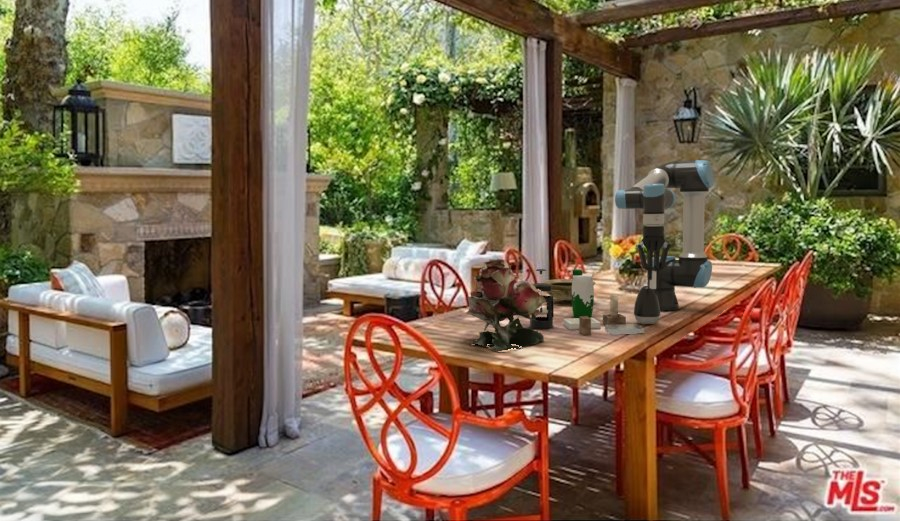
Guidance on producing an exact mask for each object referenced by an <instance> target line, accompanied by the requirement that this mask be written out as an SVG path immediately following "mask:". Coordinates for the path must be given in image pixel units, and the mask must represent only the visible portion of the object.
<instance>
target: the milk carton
mask: <svg viewBox="0 0 900 521" xmlns="http://www.w3.org/2000/svg"><path fill="white" fill-rule="evenodd" d="M571 279H572V304H571V307H572V308H571V309H572V314H573V315H572V316H573V319H574V318H579V317H581V316H588V317H589V318H593V316H592V315H593V312H594V303H595V302H594V301H595V299H594V298H595V297H594V296H595V295H594V293H595V292H594V291H595V289H594V286H595V285H593V281H594V279H593V273H583V269H572V275H571Z"/></svg>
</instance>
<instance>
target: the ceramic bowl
mask: <svg viewBox="0 0 900 521" xmlns="http://www.w3.org/2000/svg"><path fill="white" fill-rule="evenodd" d="M543 283H547V284H552V285H553V286H551V291H546V293H547V294H548V296H553V299H554V298H555V299H556V300H561V301H560V303H561V304H563V305H564V304H566V305H572V278H565V279H564V278H563V279H562V278H558V279H547V280H544V282H543ZM595 285H596V281H594V280H593V286H595Z"/></svg>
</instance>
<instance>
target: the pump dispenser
mask: <svg viewBox="0 0 900 521" xmlns="http://www.w3.org/2000/svg"><path fill="white" fill-rule="evenodd" d="M633 316H634V320H636V322H637V324H640V323H641V324H640V325H644V324H652V325H654V324H656V323H657V322H658V321H659V319H660V317H661V311H660V306H659V302H658V298H657V295H656V293H655V291H654V289H651V288H650V286H647V285H644V286H642V287H641V288H639V291H638V292H637V294H636V299H635V302H634V307H633Z"/></svg>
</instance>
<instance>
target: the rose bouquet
mask: <svg viewBox="0 0 900 521" xmlns="http://www.w3.org/2000/svg"><path fill="white" fill-rule="evenodd" d="M483 265H484V267H482V268H481V269H479V275H474V277H473V279H474V280H473V281H474V283H476V286H475V287H476V288H475V289H474V290H473V291H471V293H470V296H469V297H468V299H467V302H468V306H469V308H468V311H466V314H467V315H470V316H472V317H474V318H478V319H479V320H482V321H484V322H485V323H486V324H485V326H484V329H483V330H484V331H480V332H478V334H479V337H478V340H477V339H476V340H477V341H475V342H471V344H478V345H477V346H481V345H482V346H481V347H484V346H487V344H494V345H493V346H490V348H489V347H488V348H487V349H489V350H492V351H496V352H497V351H502V350H508V349H511V348H513V349H514V348H516V349H519V350H522V349H521V348H519V347H520V346H522V347H525V348H526V347H528V346H531V345H536V344H539V343H540V342H541V341H543V342H544V341H545V339H544V335H543V334H542V333H541V332H539V329H536V330H535V329H532V328H530V327H528V326H526V327H523V325H522V323H521V320H520V318H519V316H520V317H523V318H525V319H528V320H529V321H530V320H535V319H533V318H532V317H531V314H532V315H535V316H536V317H538V316H539V315H540V314H539V313H540V310H536V309H540V308H541V305H543V304H546V303H547V302H546V299H545V298H544V297H543V296H540V295H541V290H539V289H536V287H535V286H534V285H533V284H534V283H533V282H530V281H527V280H523V279H522V280H519V281H517V280H516V279H518V276H517V274H514V273H513V270H512V267H511V265H509V263H508V262H506V260H505V259H504V258H497V259H494V258H493V259H492V258H489V259H488V260H487V261H485V262H483ZM516 281H517V282H516ZM514 316H517V317H516V318H514ZM506 319H508V320H509V321H508V323H507V324H506V325H504V326H502V325H501V324H500V322H502V321H505V320H506ZM536 321H538V320H536ZM490 325H491V326H492V328H493V329H494V331H489V330H488V326H490ZM511 344H516V345H519V347H518V346H512V345H511ZM488 346H489V345H488Z"/></svg>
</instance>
